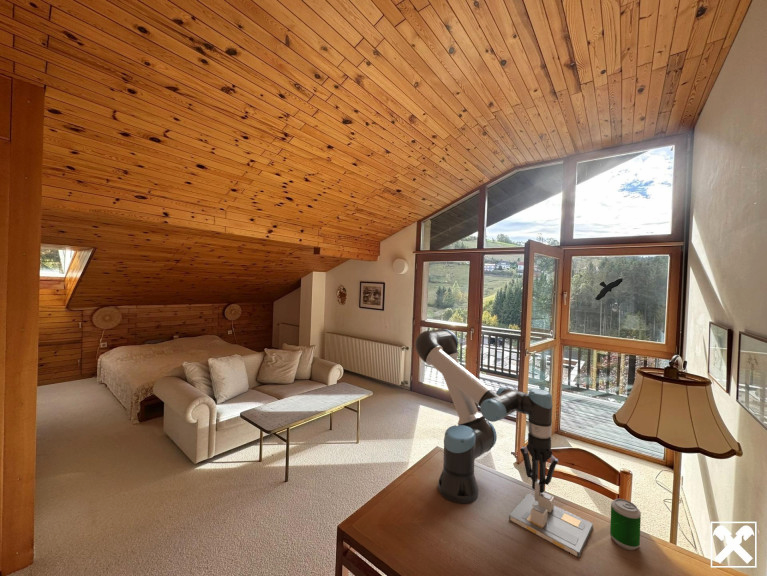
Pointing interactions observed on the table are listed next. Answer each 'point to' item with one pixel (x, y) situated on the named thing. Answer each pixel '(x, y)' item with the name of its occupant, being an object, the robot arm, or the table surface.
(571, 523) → the switch board
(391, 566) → the table surface
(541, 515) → the slider near
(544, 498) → the slider far
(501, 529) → the table surface
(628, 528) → the soda can
